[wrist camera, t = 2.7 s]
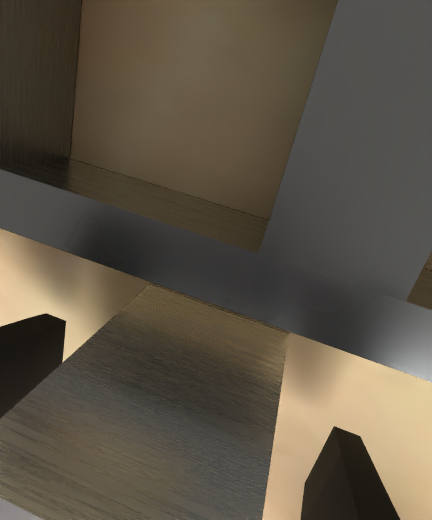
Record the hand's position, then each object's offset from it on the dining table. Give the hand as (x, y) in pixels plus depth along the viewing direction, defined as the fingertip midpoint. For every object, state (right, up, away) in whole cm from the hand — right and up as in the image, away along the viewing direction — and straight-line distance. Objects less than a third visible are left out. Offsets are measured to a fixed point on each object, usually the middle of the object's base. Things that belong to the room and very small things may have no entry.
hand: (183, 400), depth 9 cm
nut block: (0, 0, +1) cm, 2 cm away
